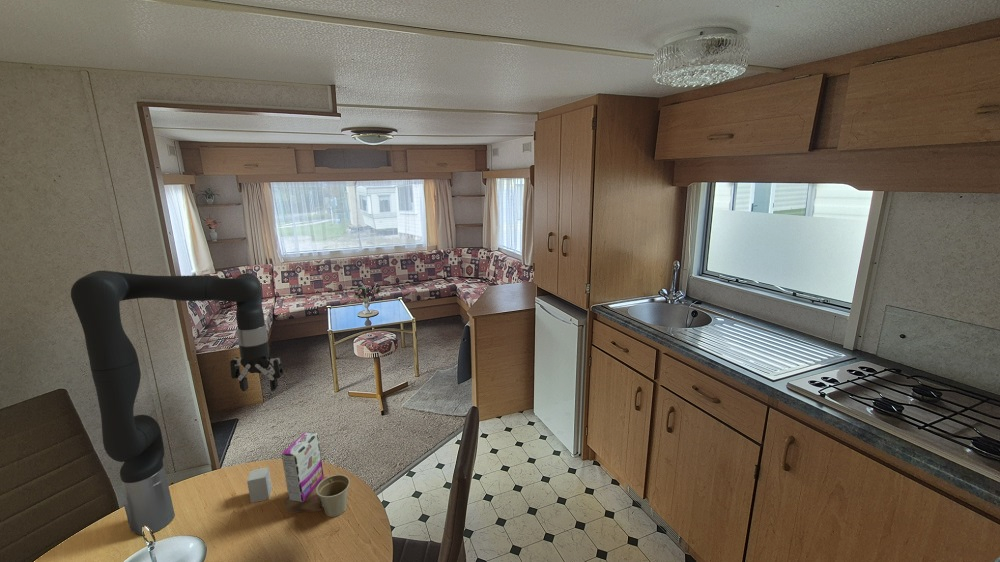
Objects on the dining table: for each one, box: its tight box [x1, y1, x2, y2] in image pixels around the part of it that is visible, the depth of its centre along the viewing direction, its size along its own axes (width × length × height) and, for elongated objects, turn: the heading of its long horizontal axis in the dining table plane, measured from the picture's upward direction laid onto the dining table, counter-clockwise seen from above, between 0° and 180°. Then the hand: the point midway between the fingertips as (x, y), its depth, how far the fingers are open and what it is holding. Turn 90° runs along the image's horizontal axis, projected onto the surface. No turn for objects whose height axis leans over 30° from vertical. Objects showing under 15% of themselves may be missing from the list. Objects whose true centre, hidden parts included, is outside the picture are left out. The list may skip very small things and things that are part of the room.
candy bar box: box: [281, 431, 325, 502], centre depth 127 cm, size 11×5×16 cm, turn 170°
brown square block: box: [284, 476, 328, 514], centre depth 130 cm, size 10×10×4 cm
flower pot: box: [316, 474, 351, 518], centre depth 125 cm, size 9×9×9 cm
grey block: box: [246, 466, 273, 504], centre depth 131 cm, size 5×5×8 cm
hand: (259, 390), depth 127 cm, fingers open, 8 cm apart
